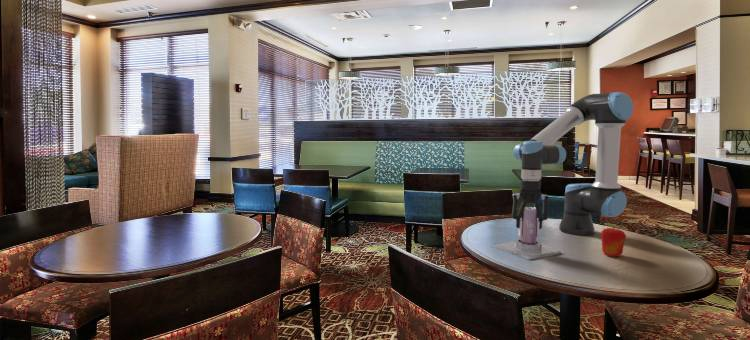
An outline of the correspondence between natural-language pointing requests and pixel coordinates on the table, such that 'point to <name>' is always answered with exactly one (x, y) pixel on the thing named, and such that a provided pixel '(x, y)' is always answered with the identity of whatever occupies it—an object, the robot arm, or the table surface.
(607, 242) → the red bell pepper
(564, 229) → the robot arm
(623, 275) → the table surface
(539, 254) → the duct flange
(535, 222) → the beverage can
